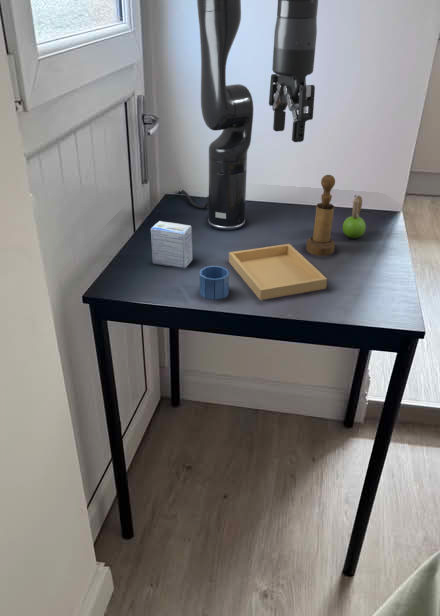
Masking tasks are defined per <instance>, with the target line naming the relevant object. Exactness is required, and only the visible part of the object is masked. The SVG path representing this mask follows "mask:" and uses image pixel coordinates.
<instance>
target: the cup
mask: <svg viewBox="0 0 440 616" xmlns="http://www.w3.org/2000/svg"><path fill="white" fill-rule="evenodd" d="M229 289H230V271H229V269H227V268H225V266H219V265H208V266H204V267H203V268H201V269H200V270H199V295H200V296H201V297H202V298H204V299H207V300H212V301H216V300H217V301H218V300H223V299H225V298H227V297H228V295H229V293H230V290H229Z"/></svg>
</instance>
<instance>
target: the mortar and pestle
mask: <svg viewBox="0 0 440 616" xmlns="http://www.w3.org/2000/svg"><path fill="white" fill-rule="evenodd" d="M320 184H321V187H322V189H323V192H322V194H321V197H320V199H321V202H318V203H317V204H316V207H315V215H314V216H315V217H314V224H313V233H312V236H310V237H309V238H308V239H307V240H306V246H305V250H306V252H307V253H309V254H311V255H314V256H318V257H319V256H320V257H325V256H330V255H333V254H334V253H335V247H336V242H335V240H333V239H332V238H331V234H332V229H333V220H334V213H335V205H334V204H333V203H332V204H331V201H332V199H333V195H332V194H331V191H332V190H333V188H334V187H335V185H336V178H335V177H334V175H331V174H325V175H324V176H322V177H321V180H320Z"/></svg>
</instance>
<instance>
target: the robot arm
mask: <svg viewBox="0 0 440 616" xmlns="http://www.w3.org/2000/svg"><path fill="white" fill-rule="evenodd" d="M196 3H197V5H196V6H197V19H198V27H199V42H200V43H199V45H200V109H201V116H202V118H203V119H202V120H203V122H204V123H205V125H206V127H207V128H208V129H210V131H222V132H221V133H220V134H219V136H218V137H217V138H216V139H214V140H213V141H212V142H211V143H210V144H209V145H208V195H207V196H206V202H205V204H204V205H200V204H198V203H196V202H194V200H193V198H191V196H190V195H189V194H188V193H187V191H185V190H184V189H181V190H182V191H181V192H180V190H179V191H178V192H177V194H178V195H181V194H182V195H184V196H185V197H186V199H187V200H188V201H189V203H190V204H191V205H192V206H193V207H195V208H197V209H200V210H205V209H207V208H208V217H207V224H208V226H210V227H211V228H213V229H216V230H220V231H233V230H238V229H241V228H243V227H244V226H245V224H246V219H245V218H246V197H247V171H248V170H247V169H248V151H249V149H250V146H251V142H252V135H253V134H252V133H253V122H254V101H253V96H252V93H251V92H250V90H249V88H248V87H247V86H245V85H243V84H239V83H237V84H229V85H227V83H226V82H227V81H226V80H227V78H226V75H227V73H226V71H227V61H228V57H229V54H230V52H231V49H232V46H233V45H234V42H235V40H236V37H237V34H238V32H239V29H240V25H241V22H242V21H241V20H242V0H196ZM318 10H319V0H277V9H276V21H275V22H276V23H275V27H274V34H273V50H272V69H271V70H272V72H273V73H272V74H271V75H270V85H269V96H268V106H270V107H272V108H271V110H272V111H273V124H272V129H273V131H274V132H283V131H285V128H286V113H287V112H286V110H287V107H288V111H290V112H291V115H292V120H293V122H292V131H291V141H292V142H294V143H302V142H304V141H305V140H304V139H305V130H306V123H307V122H308V121H312V120H313V118H314V107H315V95H316V93H315V92H316V87H315V86H316V85H314V84H307V79H306V77H308V76H309V75H312V74H313V72H314V67H315V56H316V45H317V34H318V26H317V24H318V23H317V22H318V21H317V20H318V19H317V18H318Z"/></svg>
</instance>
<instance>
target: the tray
mask: <svg viewBox="0 0 440 616" xmlns="http://www.w3.org/2000/svg"><path fill="white" fill-rule="evenodd" d="M228 262H229V263H230V265H231V266H232V268H233V269H234V270H235V271H236V273H237V274H238V275H239V276H240V277H241V278H242V280H243V281H244V282H245V283H246V285H247V286H248V287H249V288H250V290H251V291H252V292H253V293H254V294H255V295H256V297H257V298H258V299H259V301H264V300H268V299H274V298H280V297H285V296H292V295H297V294H304V293H307V292H308V293H309V292H314V291H320V290H325V289H327V284H328V278H327V277H326V276H325V275H324V274H323V273H322V272H321V271H320V270H318V269H317V267H315V266H314V265H313V264H312V263H311V262H310V261H309V260H308V259H307V258H305V257H304V255H302V254H301V253H300V252H299V251H298V250H297V249H296V248H295V247H294V246H293V245H291V244H290V243H285V244H277V245H269V246H265V247H258V248H257V247H256V248H249V249H244V250H237V251H230V252H228Z"/></svg>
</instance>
